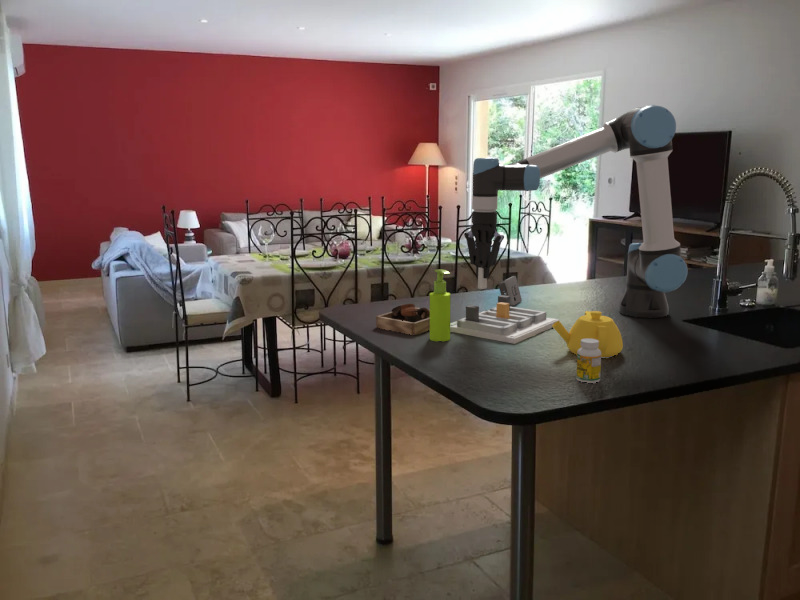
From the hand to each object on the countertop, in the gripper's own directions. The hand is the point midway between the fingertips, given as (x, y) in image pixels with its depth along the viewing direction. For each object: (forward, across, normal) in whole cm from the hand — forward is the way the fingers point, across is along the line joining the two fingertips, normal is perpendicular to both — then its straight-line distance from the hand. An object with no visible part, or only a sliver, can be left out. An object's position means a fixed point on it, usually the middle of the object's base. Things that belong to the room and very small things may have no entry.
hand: (482, 288), depth 211 cm
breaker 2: (+9, -2, -9) cm, 13 cm away
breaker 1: (+10, -2, +9) cm, 13 cm away
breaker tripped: (+9, -7, 0) cm, 12 cm away
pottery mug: (+12, +15, +16) cm, 25 cm away
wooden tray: (+12, +16, +15) cm, 24 cm away
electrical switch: (+11, +8, -30) cm, 33 cm away
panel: (+11, -7, 0) cm, 13 cm away
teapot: (+11, -38, +9) cm, 41 cm away
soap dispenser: (+12, 0, +22) cm, 25 cm away
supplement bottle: (+11, -48, +30) cm, 58 cm away
